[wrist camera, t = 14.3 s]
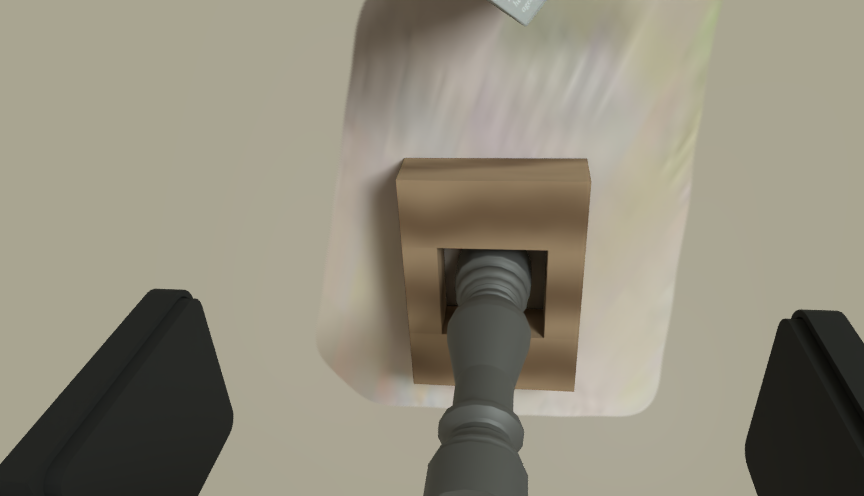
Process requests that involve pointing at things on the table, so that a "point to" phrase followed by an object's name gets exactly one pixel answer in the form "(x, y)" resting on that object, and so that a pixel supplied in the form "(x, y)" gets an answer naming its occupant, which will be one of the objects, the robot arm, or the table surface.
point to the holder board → (495, 229)
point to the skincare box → (519, 9)
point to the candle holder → (484, 378)
